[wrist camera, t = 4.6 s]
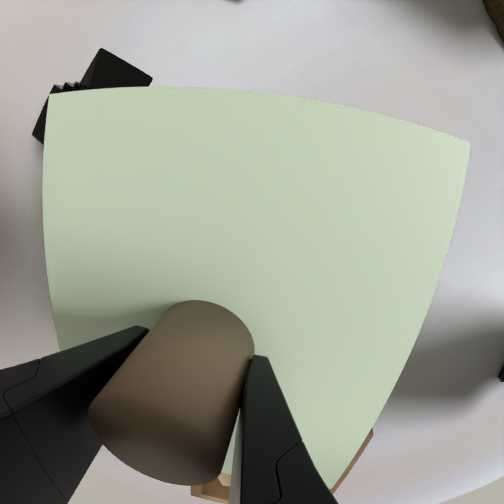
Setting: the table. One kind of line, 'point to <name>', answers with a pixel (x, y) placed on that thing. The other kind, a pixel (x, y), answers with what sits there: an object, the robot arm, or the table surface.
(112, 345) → the robot arm
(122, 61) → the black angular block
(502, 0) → the owl figurine
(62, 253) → the lid
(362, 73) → the table surface
